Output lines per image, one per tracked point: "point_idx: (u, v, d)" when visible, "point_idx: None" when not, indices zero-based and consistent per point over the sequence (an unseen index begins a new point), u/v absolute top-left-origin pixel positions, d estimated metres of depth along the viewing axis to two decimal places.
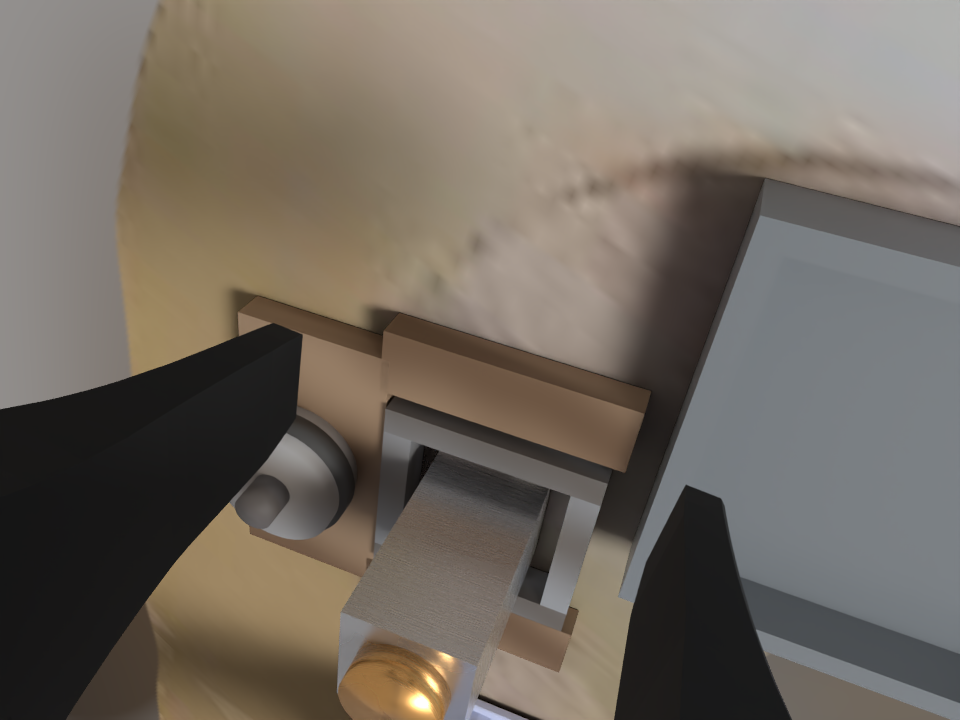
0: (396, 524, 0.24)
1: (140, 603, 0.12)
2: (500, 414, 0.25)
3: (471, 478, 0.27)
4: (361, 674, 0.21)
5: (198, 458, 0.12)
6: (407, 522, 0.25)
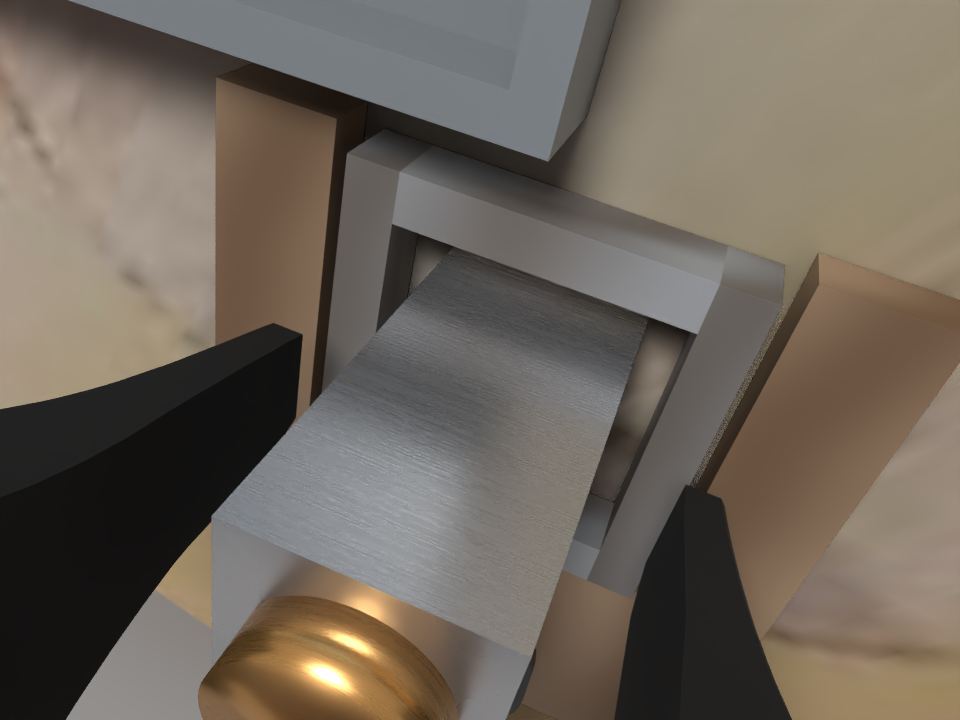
0: None
1: (140, 603, 0.12)
2: (289, 307, 0.16)
3: None
4: None
5: (198, 458, 0.12)
6: None
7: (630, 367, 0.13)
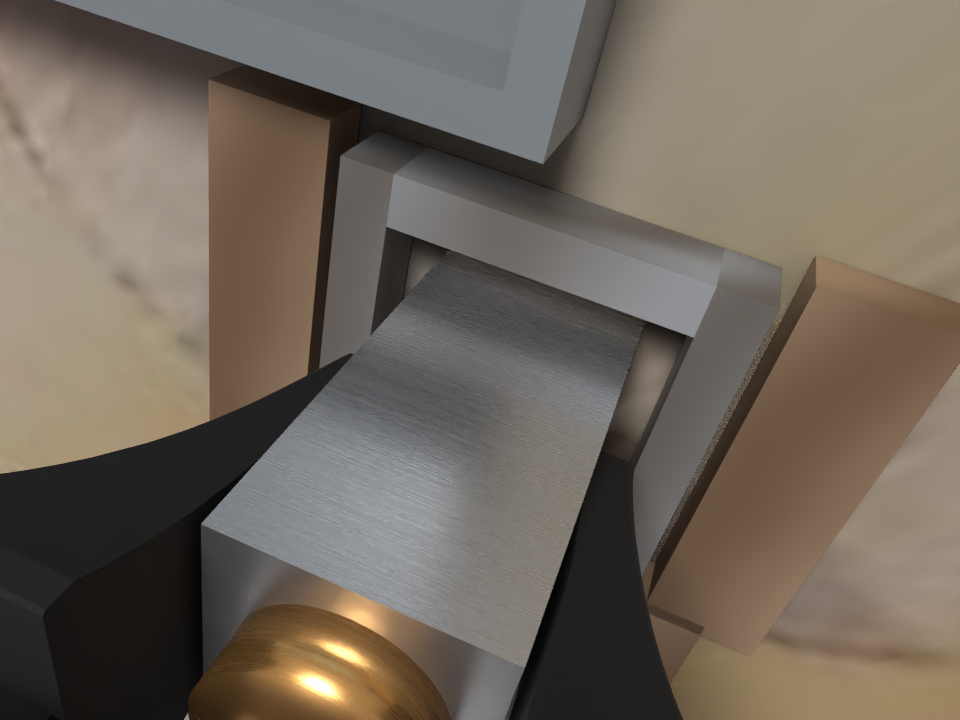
0: None
1: None
2: (283, 310, 0.16)
3: None
4: None
5: None
6: None
7: (626, 371, 0.13)
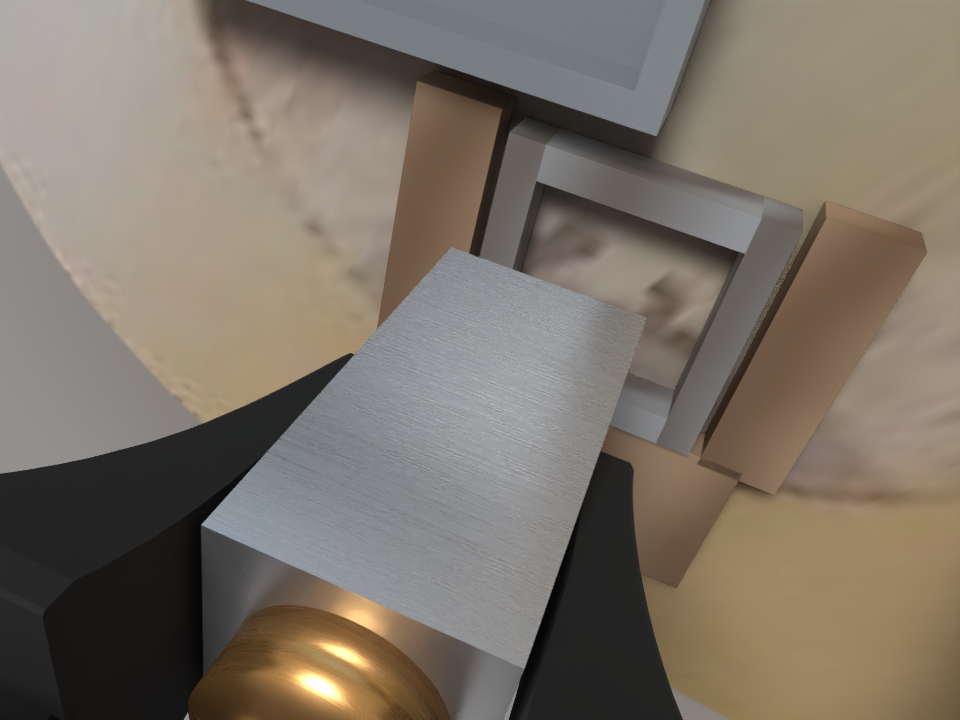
0: None
1: None
2: (448, 243, 0.23)
3: None
4: None
5: None
6: None
7: (626, 372, 0.13)
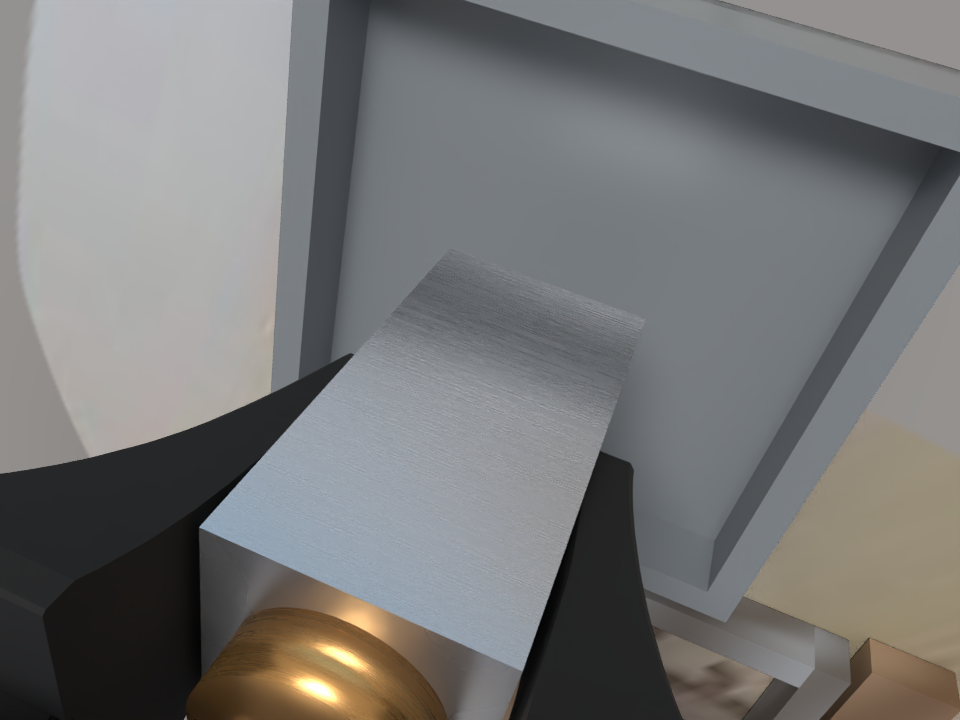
0: None
1: None
2: None
3: None
4: None
5: None
6: None
7: (624, 373, 0.13)
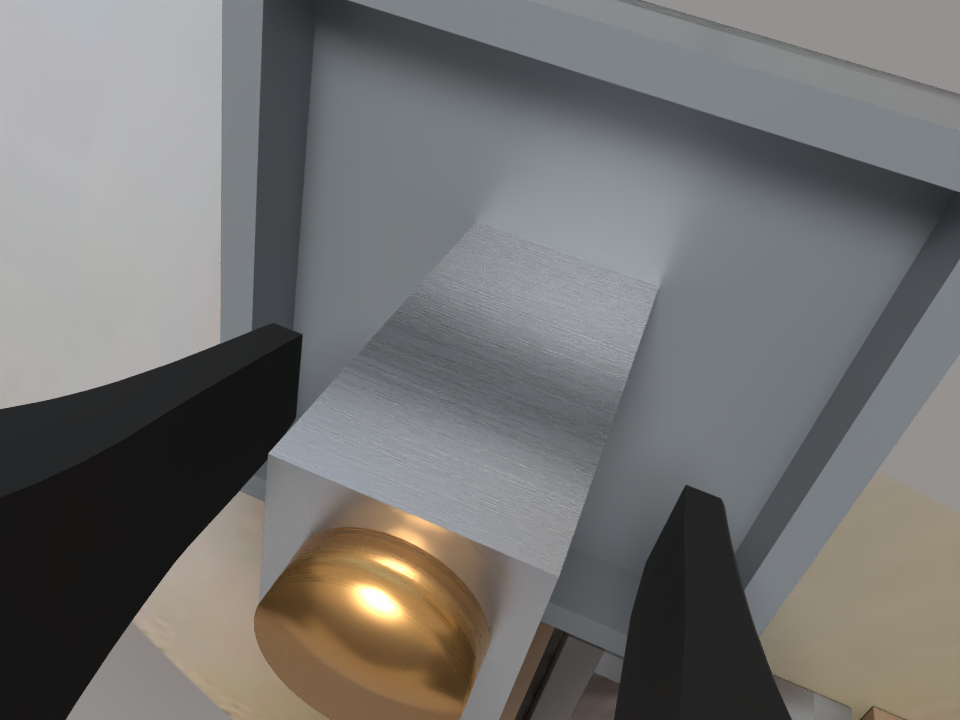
0: None
1: (140, 602, 0.12)
2: None
3: None
4: (272, 664, 0.11)
5: (198, 458, 0.12)
6: None
7: (641, 333, 0.14)
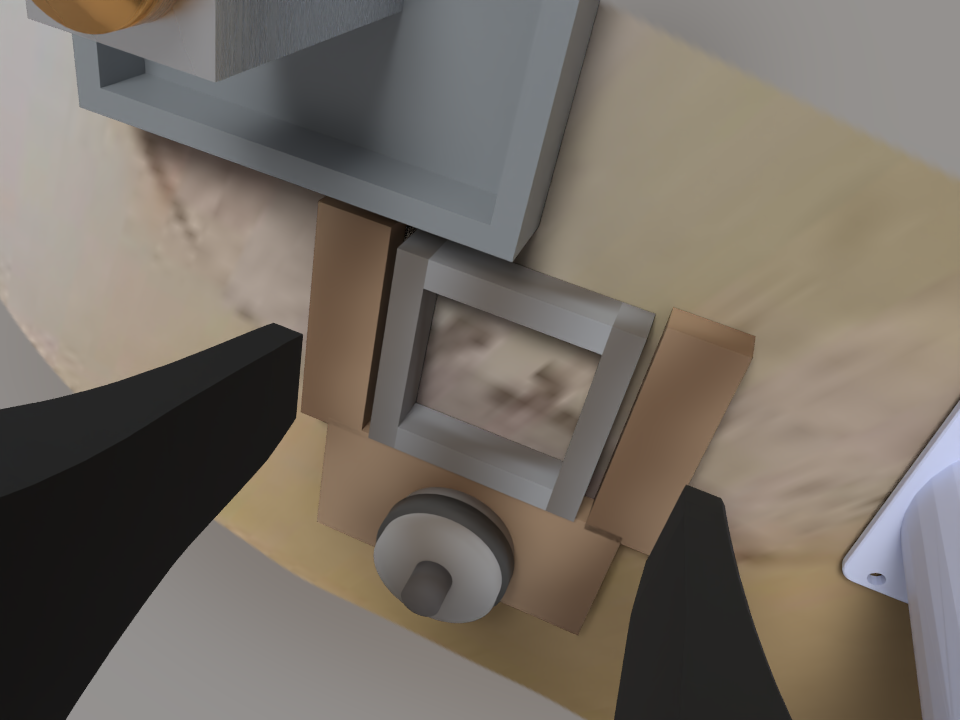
0: None
1: (140, 603, 0.12)
2: (356, 335, 0.26)
3: None
4: None
5: (198, 458, 0.12)
6: None
7: None
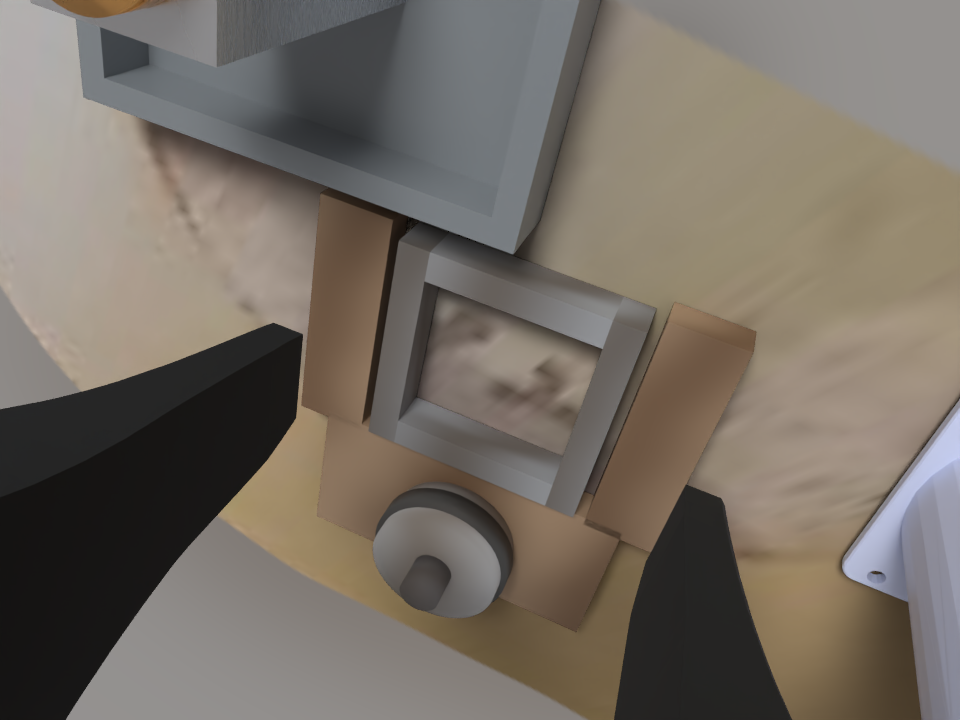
0: None
1: (140, 603, 0.12)
2: (357, 328, 0.26)
3: None
4: None
5: (198, 458, 0.12)
6: None
7: None
